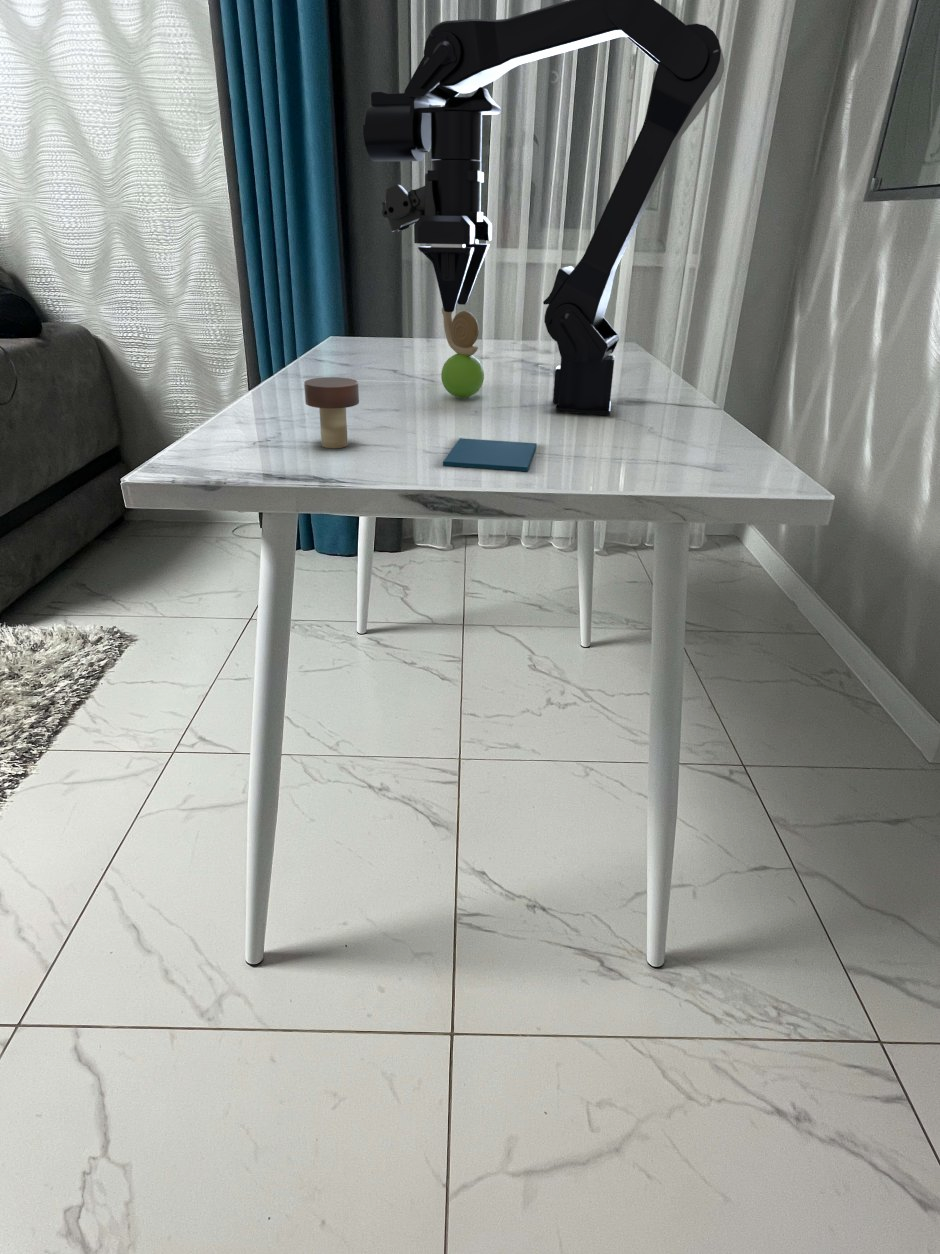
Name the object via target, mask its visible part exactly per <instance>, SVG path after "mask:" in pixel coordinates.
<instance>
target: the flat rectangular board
mask: <svg viewBox="0 0 940 1254" xmlns="http://www.w3.org/2000/svg"><path fill="white" fill-rule="evenodd" d="M537 446H538V443H536V442H523V441H509V440H507V441H505V440H491V439H478V438H477V439H476V438H462V437H460V438H459V439H458V440H457V441H456V442H455V444H454V446H453V447H452V448H451V450H450V451H449V453H448V454H447V455H446V456H445V458H444V459H443V461H442V466H446V467H461V468H473V469H485V470H499V471H501V470H502V471H514V472H528V471H529V468H530V466H531V463H532V460H533V458H534V455H535V452H536V449H537Z"/></svg>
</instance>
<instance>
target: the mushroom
mask: <svg viewBox="0 0 940 1254" xmlns="http://www.w3.org/2000/svg"><path fill="white" fill-rule="evenodd" d="M303 385H304V400H305V404H306V405H307V406H308V407H312V408H316V409H319V425H320V426H319V427H320V440H321V442H320V443H321V446H322V447H323V448H326V449H342V448H346V447H347V446H348V444H349V443H348V423H347V422H348V421H347V409H348V408H352V407H355V406H358V405H359V403H360V390H359V381H358V380H357V379H353V378H348V377H337V376H329V377H328V376H326V377H325V376H324V377H313V378H310V379H309V378H308V379H307V380H305V381H304V382H303Z"/></svg>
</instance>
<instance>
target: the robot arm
mask: <svg viewBox="0 0 940 1254" xmlns="http://www.w3.org/2000/svg"><path fill="white" fill-rule="evenodd" d="M619 38H627V40H629V41H630V42H631V43H633V45H635V46H636V47H637V48H638V49H639V50H640V51H641V52H643V53H644V54H645V55H646V56H647V57H649V59H651V60H652V61H653V62H654V63H655V64H656V65H657V67H656V70H655V74H654V77H653V82H652V84H651V89H650V93H649V99H648V104H647V107H646V114H645V117H644V121H643V124H642V127H641V128H640V131H639V133H638V136H637V138H636V140H635V142H634V145H633V146H632V148H631V151H630V153H629V155H628V157H627V160H626V162H625V164H624V166H623V168H622V171H621V173H620V175H619V176H618V179H617V181H616V183H615V186H614V188H613V190H612V192H611V195H610V196H609V199H608V201H607V203H606V206H605V208H604V210H603V212H602V215H601V216H600V219H599V221H598V223H597V226H596V228H595V230H594V232H593V234H592V236H591V239H590V241H589V243H588V246H587V248H586V250H585V252H584V254H583V256H582V258H581V259H580V260H579V262H578V263H577V264H576V265H575V266H572V265H570V266H564V267H561V268H559V269H558V270H557V274H556V276H555V279H554V283H553V286H552V289H551V291H550V293H549V295H548V296H547V297H546V298H545V299H544V300H543V302H542V304H543V305H548V306H546V309H545V313H544V319H543V322H544V324H545V325H544V326H545V328H546V332H547V334H548V335H549V337H550V338H551V339H552V340H554V341H555V342H556V344H557V348H558V351H559V355H560V365H557V366H556V367H555V369H554V381H553V394H552V395H553V397H552V398H553V399H552V403H553V405H556V406H555V412H557V413H570V414H571V413H572V414H587V415H605V416H609V415H611V409H612V408H611V407H612V401H611V397H612V389H613V388H612V386H613V378H614V369H615V368H614V367H615V357H616V356H615V355H611V354H614V352H615V350H616V347H617V345H618V343H619V341H620V338H621V337H620V335H619V333H618V332H617V331H616V330H615V328H614V327H613V326H612V325H611V323H610V322H609V321H608V320H607V319H606V318H605V314H606V311H607V307H608V304H609V301H610V299H611V294H612V290H613V285H614V279H615V275H616V271H617V268H618V266H619V264H620V262H621V260H622V258H623V255H624V254H625V251H626V249H627V247H628V246H629V243H630V241H631V239H632V237H633V235H634V233H635V231H636V229H637V227H638V224H639V223H640V221H641V218H642V216H643V214H644V213H645V210H646V208H647V207H648V204H649V202H650V199H652V198H651V197H652V196H653V193H654V192H655V189H656V187H657V185H658V183H659V181H660V179H661V176H662V174H663V172H664V171H665V168H666V166H667V164H668V163H669V160H670V159H671V156H672V154H673V152H674V150H675V148H676V146H677V144H678V142H679V140H680V139H681V137H682V136H683V135H684V134H685V133H686V131H687V130H688V129H689V127H690V126H691V125H692V124H693V122H694V121H695V120H696V118H697V117H698V116H699V114H700V113H701V111H702V110H703V108H705V105H706V104H707V102H708V101H709V100H710V99H711V97H712V95H713V94H714V92H715V91H716V89H717V88H718V86H719V84H720V83H721V81H722V78H723V75H724V72H725V58H724V54H723V53H724V52H723V49H722V46H721V43H720V40H719V38H718V37H717V35H716V33H715V31H713V30H712V29H711V28H709V27H708V26H707V25H705V24H701V23H691V24H686V23H685V22H683V21H682V20H680V19H679V18H678V17H677V16H676V15H674V14H673V13H672V12H671V11H670V10H668V9H667V8H666V7H664V6H663V5H662V4H660V3H659V2H658V1H656V0H566V1H563V2H558V3H556V4H552V5H549V6H545V7H542V8H539V9H535V10H532V11H528V12H525V13H522V14H519V15H515V16H512V17H508V18H503V19H502V18H501V19H484V18H469V19H467V18H466V19H453V20H444V21H441V22H439V23H437V24H435V25H434V26H433V27H432V28H431V29H430V31H429V34H428V37H427V38H426V40H425V44H424V48H423V57H422V58H421V60H420V62H419V63H418V66H417V67H416V69H415V71H414V72H413V74H412V76H411V78H410V80H409V82H408V84H407V85H406V87H405V89H404V92H396V93H394V92H393V93H392V92H391V93H390V92H389V93H388V92H384V91H372V92H371V93H370V105H369V106H368V108H367V110H366V114H365V119H364V123H363V125H362V129H363V130H362V133H363V142H364V147H365V149H366V152H367V155H368V157H369V159H370V160H371V161H373V162H421V161H422V160H423V159H424V157H425V155H426V153H430V152H431V153H430V156H431V157H430V158H431V159H430V160H431V161H430V163H431V164H430V167H431V169H428V170H427V173H425V175H424V185H423V186H421V187H418V188H416V189H415V188H414V189H411V190H409V191H407V190H406V188H405V187H403V186H402V185H401V184H395V185H393V186H389V187H388V188H386V189H385V197H384V199H385V200H384V201H381V207H382V210H381V215H382V216H383V218H385V219H386V222H387V224H388V227H389V230H390V232H391V233H393V232H396V233H399V232H401V231H404V230H407V229H409V228H410V227H411V226H412V225H413V240H414V241H413V242H414V244H420V245H421V244H422V245H423V244H425V245H426V244H427V245H429V246H424V245H423V246H417V249H418V251H419V252H420V253H422V254H423V255H424V256H425V257H426V258H427V259H428V260H429V261H430V262H431V264H432V266H433V270H434V273H435V278H436V283H437V287H438V291H439V296H440V299H441V303H442V308H444V311H445V312H452V313H453V312H455V308H456V305H460V306H461V305H462V306H463V305H466V304H467V303H468V301H469V298H470V296H471V294H472V293H471V292H472V290H473V287H474V285H475V282H476V280H477V277H478V275H479V273H480V269H481V267H482V265H483V262H484V260H485V257H486V255H487V252H488V250H489V248H490V245H491V244H490V243H479V241H485V242H490V241H492V240H493V223H492V222H491V221H490V220H489V219H488V217H487V216H486V215H484V212H483V211H481V210H482V209H481V207H482V205H481V204H482V183H485V172H484V171H482V148H483V147H482V145H483V144H482V143H483V141H482V140H483V139H482V137H483V116H489V115H490V116H491V115H493V116H495V115H500V114H501V111H502V109H501V107H500V106H499V105H498V104H497V103H496V102H495V101H494V99H493V98H492V97H491V94H490V93H489V90H488V89H487V88H485V86H487V85H489V84H491V83H492V82H495V81H497V80H498V79H500V78H501V77H502V76H504V75H506V73H508V72H509V71H511V70H513V69H514V68H516V67H518V66H520V65H524V64H527V63H531V62H535V61H538V60H542V59H545V58H550V57H553V56H557V55H560V54H564V53H567V52H571V51H574V50H578V49H582V48H585V47H589V46H593V45H596V44H599V43H600V44H601V43H604V42H607V41H610V40H614V39H619ZM473 92H474V93H473ZM471 93H473V94H472V95H464V96H462V95H461V96H459V95H460V94H471ZM430 105H431V107H430Z"/></svg>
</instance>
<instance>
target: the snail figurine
mask: <svg viewBox="0 0 940 1254" xmlns="http://www.w3.org/2000/svg"><path fill="white" fill-rule="evenodd" d="M441 314H442V317H443V328H444V334H445V338H446V341H447V344H448V346H449V347H450V348H451V350H453V351H454V353H456V354H453V355H451V356H450V357H449V358H447V359H446V361H445V362H444V363H443V366H442V368H441V371H440V378H441V382H442V385H443V387H444V389H445V391H446V392H448V393H449V394H450V395H451V396H453V397H456V398H459V399H466V398H470V397H473V396H474V395H476V394H477V393H478V392H479V391H480V389H481V388H482V386H483V384H484V380H485V372H484V371H485V370H484V367H483V365H482V363H481V362H480V360H479V358H477V357H476V356H474V355H475V354H476V353H477V351H478V350H479V347H478V346H477V345H474V344H475V343H476V342H477V341H478V337H479V331H480V329H479V323H478V321H477V318H476V317H475V315H474V314H473V313H471V312H470V311H467V310H462V311H459V312H457V313H456V314H455V316H454V317H453V312H445V311H444V308H443V307H442V308H441Z"/></svg>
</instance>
